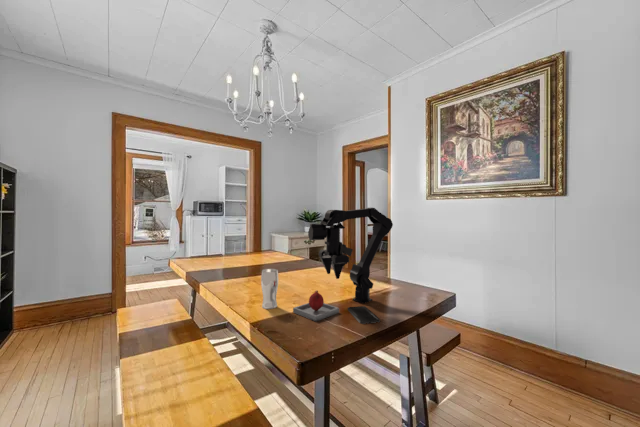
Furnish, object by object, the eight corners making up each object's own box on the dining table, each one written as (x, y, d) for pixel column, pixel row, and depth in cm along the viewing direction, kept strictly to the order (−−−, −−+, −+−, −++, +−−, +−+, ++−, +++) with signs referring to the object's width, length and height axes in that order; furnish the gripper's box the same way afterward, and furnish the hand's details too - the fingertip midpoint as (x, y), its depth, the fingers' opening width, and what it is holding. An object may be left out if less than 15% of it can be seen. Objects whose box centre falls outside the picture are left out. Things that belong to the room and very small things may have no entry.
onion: (323, 313, 105) (323, 292, 105) (308, 313, 105) (308, 292, 105) (323, 308, 111) (323, 288, 111) (309, 308, 111) (309, 288, 111)
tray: (316, 304, 117) (316, 300, 117) (338, 312, 108) (339, 308, 108) (293, 312, 108) (293, 307, 108) (315, 321, 99) (316, 316, 99)
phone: (364, 306, 114) (380, 319, 100) (364, 308, 114) (380, 323, 100) (346, 307, 112) (360, 321, 98) (346, 310, 112) (360, 325, 98)
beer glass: (274, 310, 110) (274, 272, 110) (258, 308, 112) (258, 271, 112) (280, 304, 117) (280, 268, 117) (265, 303, 119) (265, 268, 118)
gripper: (360, 241, 112) (360, 279, 112) (340, 236, 129) (340, 270, 130) (335, 242, 108) (335, 282, 108) (318, 237, 125) (318, 272, 126)
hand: (333, 276), depth 118 cm, fingers open, 9 cm apart
